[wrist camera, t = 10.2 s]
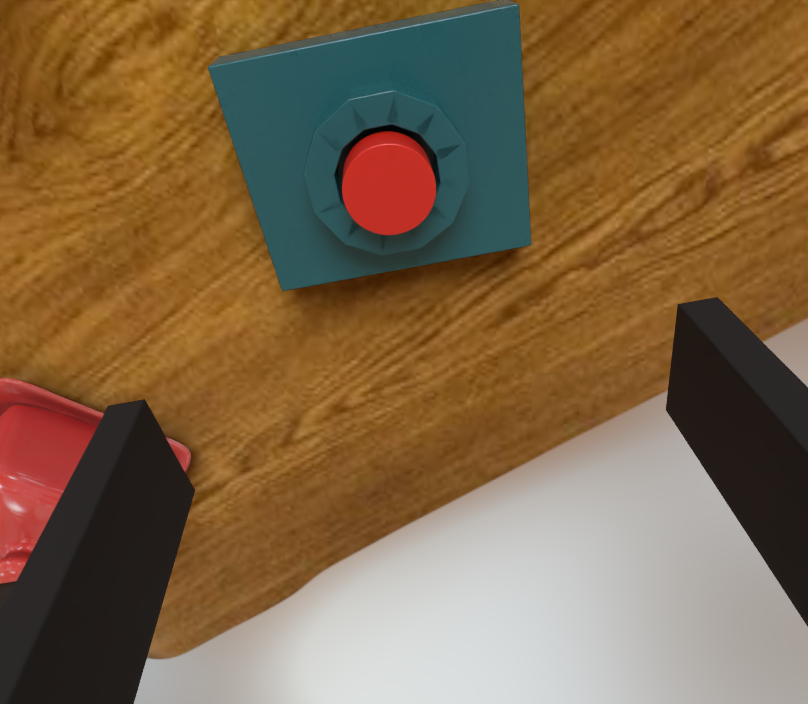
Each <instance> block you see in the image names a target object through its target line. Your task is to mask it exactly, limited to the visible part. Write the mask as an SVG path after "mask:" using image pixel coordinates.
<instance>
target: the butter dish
mask: <svg viewBox="0 0 808 704" xmlns="http://www.w3.org/2000/svg"><path fill="white" fill-rule="evenodd" d="M103 415H104V413H102V412H99V411H97V410H95V409H92V408H89V407H87V406H84V405H82V404H79V403H76V402H74V401H71V400H69V399H66V398H64V397H61V396H59V395H57V394H54V393H52V392H50V391H48V390H45V389H43V388H40V387H37V386H35V385H33V384H30V383H26V382H23V381H20V380H17V379H12V378H0V584H1V583H7V582H13V581H17V579H18V577H19V575H20V574H21V572H22V570H23V568H24V566H25V564H26V562H27V560H28V558H29V556H30V554H31V553H32V551H33V549H34V547H35V545H36V543H37V541H38V539H39V537H40V535H41V533H42V532H43V530H44V528H45V526H46V524H47V522H48V520H49V518H50V516H51V514H52V512H53V511H54V509H55V507H56V505H57V503H58V501H59V499H60V497H61V495H62V493H63V491H64V490H65V488H66V486H67V484H68V482H69V480H70V478H71V476H72V474H73V472H74V470H75V469H76V467H77V465H78V463H79V461H80V459H81V457H82V455H83V453H84V451H85V449H86V448H87V446H88V444H89V442H90V440H91V438H92V436H93V434H94V432H95V430H96V429H97V427H98V425H99V423H100V421H101V419H102V417H103ZM166 439H167V440H168V442H169V444H170V446H171V448H172V450H173V451H174V453H175V455H176V457H177V459H178V460H179V462H180V464H181V466H182V468H183V469H184V471H185V472H186V471H187V469H188V467H189V465H190V462H191V453H190V450H189V449H188V448H187V447H186V446H185V445H183V444H181V443H179V442H177V441H175V440H173V439H170V438H168V437H166Z"/></svg>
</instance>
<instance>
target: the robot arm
mask: <svg viewBox="0 0 808 704" xmlns="http://www.w3.org/2000/svg"><path fill="white" fill-rule="evenodd" d="M666 410H667V412H668V414H669V415H670V417H671V418H672V420H673V421H674V422H675V424H676V426H677V427H678V429H679V431H680V432H681V434H682V435H683V437H684V438H685V440H686V441H687V442H688V444H689V446H690V447H691V449H692V450H693V452H694V453H695V455H696V456H697V458H698V459H699V461H700V462H701V464H702V466H703V467H704V469H705V470H706V472H707V473H708V475H709V476H710V478H711V479H712V481H713V482H714V484H715V485H716V487H717V489H718V490H719V492H720V493H721V495H722V496H723V498H724V499H725V501H726V502H727V504H728V505H729V507H730V508H731V510H732V511H733V513H734V515H735V516H736V518H737V519H738V521H739V522H740V524H741V525H742V527H743V528H744V530H745V531H746V533H747V534H748V536H749V537H750V539H751V541H752V542H753V543H754V545H755V547H756V548H757V549H758V551H759V552H760V554H761V556H762V557H763V559H764V560H765V562H766V563H767V565H768V567H769V568H770V570H771V571H772V573H773V574H774V576H775V577H776V579H777V580H778V581H779V583H780V585H781V586H782V588H783V589H784V591H785V592H786V594H787V596H788V597H789V599H790V600H791V602H792V603H793V605H794V606H795V608H796V609H797V611H798V612H799V614H800V615H801V617H802V618H803V620H804V621H805V623H806V624H807V626H808V387H807V386H806V385H805V384H804V383H802V381H801V380H800V379H799V378H798V377H797V376H796V375H795V374H794V373H793V372H792V371H790V369H789V368H788V367H787V366H786V365H785V364H784V363H783V362H782V361H781V360H780V359H779V358H778V357H776V355H775V354H774V353H773V352H772V351H770V349H768V348H767V346H766V345H765V344H764V343H763V342H762V341H761V340H760V339H759V338H758V337H757V336H756V335H755V334H754V333H753V332H752V331H751V330H750V329H749V328H748V327H747V326H746V325H745V324H744V323H743V322H742V321H741V320H740V319H739V318H738V317H737V316H736V315H735V314H734V313H733V312H732V311H731V310H730V309H729V308H728V307H727V306H726V305H725V304H724V303H723V302H722V301H721V300H720V299H719V298H718V297H716V298H710V299H704V300H699V301H693V302H688V303H682V304H678V307H677V316H676V325H675V334H674V343H673V351H672V360H671V369H670V378H669V387H668V396H667V404H666ZM194 492H195V489H194V488H193V486H192V484H191V482H190V480H189V479H188V477H187V475H186V473H185V471H184V469H183V468H182V466H181V464H180V462H179V460H178V459H177V457H176V455H175V453H174V451H173V450H172V448H171V446H170V444H169V442H168V440H167V439H166V437H165V435H164V433H163V431H162V430H161V428H160V426H159V424H158V422H157V421H156V419H155V417H154V415H153V413H152V412H151V410H150V408H149V406H148V404H147V402H146V401H145V399H144V400H138V401H133V402H127V403H122V404H116V405H110V406H108V408H107V409H106V411H105V413H104V415H103V417H102V419H101V421H100V423H99V425H98V427H97V429H96V430H95V432H94V434H93V436H92V438H91V440H90V442H89V444H88V446H87V448H86V449H85V451H84V453H83V455H82V457H81V459H80V461H79V463H78V465H77V467H76V469H75V470H74V472H73V474H72V476H71V478H70V480H69V482H68V484H67V486H66V488H65V490H64V491H63V493H62V495H61V497H60V499H59V501H58V503H57V505H56V507H55V509H54V511H53V512H52V514H51V516H50V518H49V520H48V522H47V524H46V526H45V528H44V530H43V532H42V533H41V535H40V537H39V539H38V541H37V543H36V545H35V547H34V549H33V551H32V553H31V554H30V556H29V558H28V560H27V562H26V564H25V566H24V568H23V570H22V572H21V574H20V575H19V577H18V579H17V581H13V582H7V583H1V584H0V704H134V700H135V697H136V693H137V690H138V686H139V683H140V679H141V676H142V672H143V669H144V665H145V662H146V659H147V655H148V652H149V648H150V645H151V641H152V638H153V634H154V631H155V627H156V624H157V620H158V617H159V614H160V610H161V607H162V603H163V600H164V596H165V593H166V589H167V586H168V582H169V579H170V575H171V572H172V568H173V565H174V561H175V558H176V555H177V551H178V548H179V544H180V541H181V537H182V534H183V530H184V527H185V523H186V520H187V516H188V513H189V509H190V506H191V503H192V499H193V496H194Z"/></svg>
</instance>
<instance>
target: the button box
mask: <svg viewBox="0 0 808 704" xmlns="http://www.w3.org/2000/svg"><path fill="white" fill-rule="evenodd" d="M208 70H209V73H210V76H211V79H212V82H213V85H214V88H215V91H216V94H217V97H218V100H219V103H220V106H221V109H222V112H223V115H224V118H225V121H226V124H227V127H228V130H229V133H230V136H231V139H232V142H233V145H234V148H235V151H236V154H237V157H238V160H239V163H240V166H241V169H242V172H243V175H244V178H245V181H246V184H247V187H248V190H249V193H250V196H251V199H252V202H253V205H254V208H255V211H256V214H257V217H258V220H259V223H260V226H261V229H262V232H263V235H264V238H265V241H266V244H267V247H268V250H269V253H270V256H271V259H272V262H273V265H274V268H275V271H276V274H277V277H278V280H279V283H280V286H281V289H282V291H286V290H292V289H297V288H303V287H308V286H314V285H319V284H324V283H330V282H335V281H341V280H346V279H351V278H357V277H362V276H368V275H373V274H379V273H384V272H389V271H395V270H400V269H406V268H411V267H416V266H422V265H427V264H433V263H438V262H444V261H449V260H454V259H460V258H465V257H471V256H476V255H482V254H487V253H492V252H498V251H503V250H509V249H514V248H519V247H525V246H530V245H531V231H530V211H529V191H528V172H527V152H526V132H525V112H524V92H523V72H522V53H521V33H520V13H519V4H517V3H515V2H513V1H510V0H497V1H492V2H487V3H482V4H477V5H472V6H467V7H462V8H457V9H452V10H447V11H442V12H437V13H433V14H428V15H423V16H418V17H413V18H408V19H403V20H398V21H393V22H388V23H383V24H378V25H373V26H369V27H364V28H359V29H354V30H349V31H344V32H339V33H334V34H329V35H324V36H319V37H314V38H309V39H304V40H300V41H295V42H290V43H285V44H280V45H275V46H270V47H265V48H260V49H255V50H250V51H245V52H240V53H235V54H231V55H226V56H221V57H218V58H217V59H216V60H215V61H214V62H213V63H212V64H211V65H210V66H208ZM382 131H393V132H399V133H402V134H405V135H407V136H409V137H411V138H412V139H414V140H415V141H416V142H417V143H418V144H419V145H420V146H421V147H422V148H423V149H424V151H425V152H426V154H427V156H428V158H429V161H430V164H431V167H432V170H433V173H434V176H435V181H436V197H435V201H434V204H433V207H432V209H431V211H430V212H429V214H428V215H427V217H426V218H425V219H424V220H423V221H422V222H421V223H420V224H419V225H418V226H416V227H415V228H413V229H411V230H409V231H407V232H404V233H401V234H396V235H381V234H377V233H373V232H371V231H368V230H366V229H365V228H363V227H361V226H360V225H359V224H358V223H357V222H355V221H354V219H353V218H352V217H351V216H350V214H349V213H348V211H347V209H346V207H345V204H344V201H343V195H342V180H343V168H344V164H345V161H346V158H347V156H348V154H349V152H350V151H351V149H352V148H353V147H354V146H355V145H356V144H357V143H358V142H359V141H360V140H361V139H363V138H365V137H366V136H368V135H371V134H373V133H377V132H382Z"/></svg>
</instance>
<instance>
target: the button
mask: <svg viewBox="0 0 808 704" xmlns="http://www.w3.org/2000/svg"><path fill="white" fill-rule="evenodd" d="M342 195H343V201H344V204H345V207H346V209H347V211H348V213H349V214H350V216H351V217H352V218H353V219H354V221H355V222H357V223H358V224H359V225H360V226H361V227H363V228H365V229H366V230H368V231H371V232H373V233H377V234H381V235H396V234H401V233H404V232H407V231H409V230H411V229H413V228H415V227H416V226H418V225H419V224H420V223H421V222H422V221H423V220H424V219H425V218H426V217H427V215H428V214H429V212H430V211H431V209H432V207H433V204H434V201H435V197H436V181H435V176H434V173H433V170H432V167H431V164H430V161H429V158H428V156H427V154H426V152H425V151H424V149H423V148H422V147H421V146H420V145H419V144H418V143H417V142H416V141H415V140H414V139H412V138H411V137H409V136H407V135H405V134H402V133H399V132H393V131H382V132H377V133H373V134H371V135H368V136H366V137H365V138H363V139H361V140H360V141H359V142H358V143H357V144H356V145H355V146H354V147H353V148H352V149H351V151H350V152H349V154H348V156H347V158H346V161H345V164H344V168H343V180H342Z"/></svg>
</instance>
